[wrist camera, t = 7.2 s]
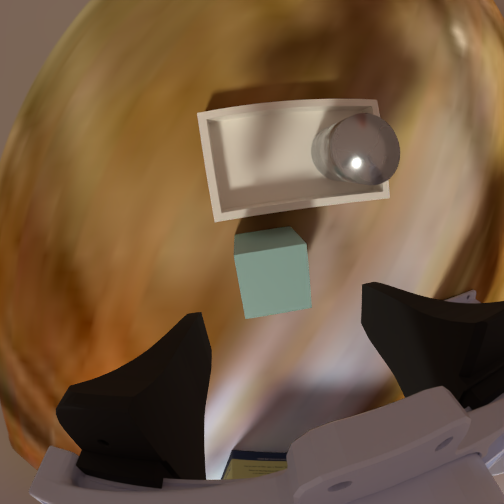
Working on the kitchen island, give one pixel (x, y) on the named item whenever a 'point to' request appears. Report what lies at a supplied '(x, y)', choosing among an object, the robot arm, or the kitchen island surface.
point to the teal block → (272, 271)
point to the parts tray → (276, 157)
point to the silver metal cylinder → (357, 150)
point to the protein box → (253, 464)
